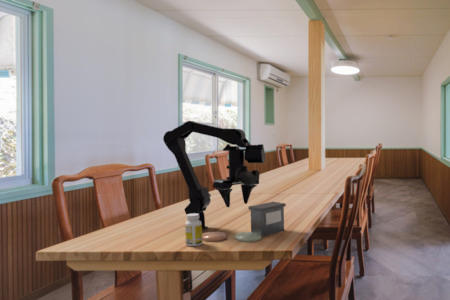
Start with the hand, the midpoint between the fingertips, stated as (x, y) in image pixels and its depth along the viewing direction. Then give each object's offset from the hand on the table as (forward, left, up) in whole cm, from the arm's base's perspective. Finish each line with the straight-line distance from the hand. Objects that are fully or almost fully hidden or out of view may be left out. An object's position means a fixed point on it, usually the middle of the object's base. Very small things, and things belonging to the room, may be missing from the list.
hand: (237, 205), depth 137 cm
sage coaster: (+10, -4, -10) cm, 14 cm away
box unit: (+10, +6, -10) cm, 15 cm away
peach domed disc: (+1, -12, -10) cm, 16 cm away
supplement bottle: (+2, -21, -10) cm, 23 cm away
